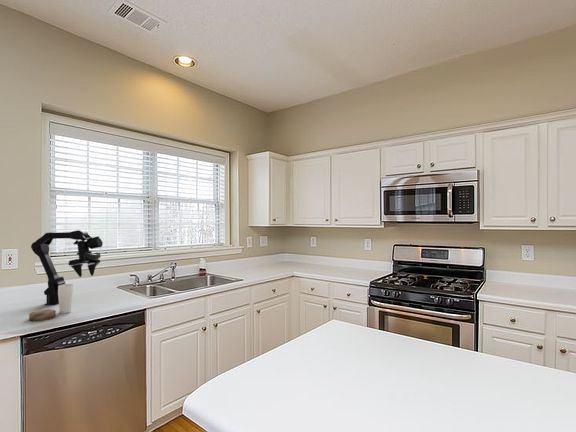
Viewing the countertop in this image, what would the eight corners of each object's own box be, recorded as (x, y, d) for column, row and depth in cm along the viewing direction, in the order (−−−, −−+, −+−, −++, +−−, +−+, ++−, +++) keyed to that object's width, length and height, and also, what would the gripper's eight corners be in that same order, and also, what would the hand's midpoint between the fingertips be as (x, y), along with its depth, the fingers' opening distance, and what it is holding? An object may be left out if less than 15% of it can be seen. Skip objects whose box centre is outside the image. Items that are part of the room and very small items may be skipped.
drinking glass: (63, 310, 182) (63, 283, 182) (75, 310, 182) (75, 284, 182) (54, 314, 176) (54, 286, 176) (66, 314, 175) (67, 286, 175)
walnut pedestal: (23, 321, 163) (23, 315, 163) (37, 315, 173) (37, 309, 174) (47, 321, 164) (47, 315, 164) (60, 314, 175) (60, 309, 175)
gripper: (83, 247, 187) (86, 274, 185) (106, 248, 205) (109, 272, 203) (66, 251, 188) (69, 278, 186) (90, 251, 207) (93, 276, 204)
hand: (86, 276), depth 195 cm, fingers open, 9 cm apart
